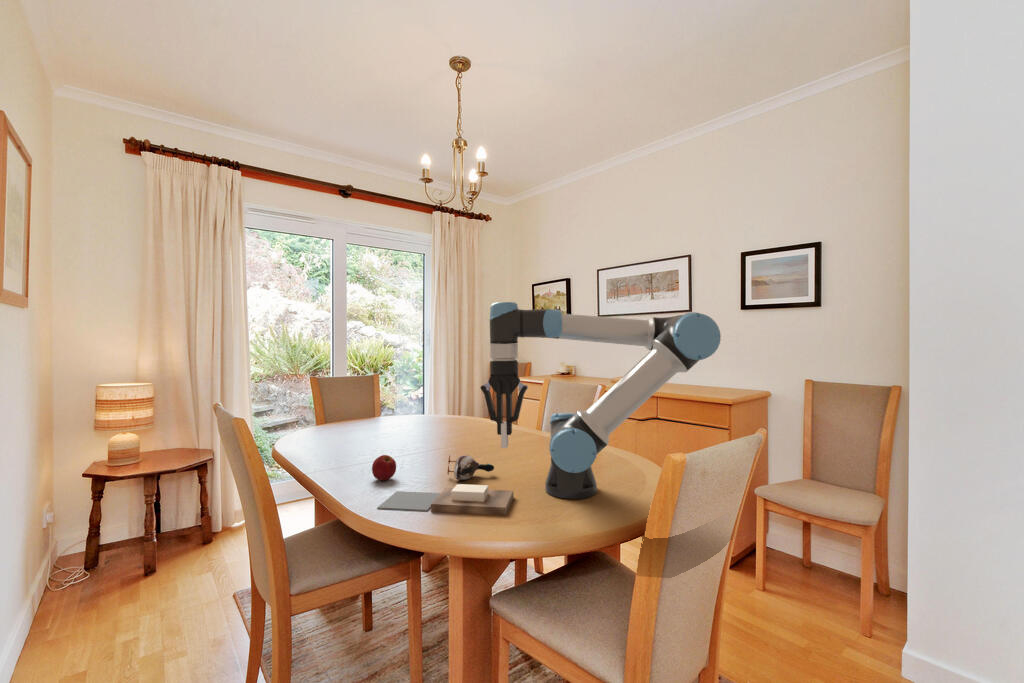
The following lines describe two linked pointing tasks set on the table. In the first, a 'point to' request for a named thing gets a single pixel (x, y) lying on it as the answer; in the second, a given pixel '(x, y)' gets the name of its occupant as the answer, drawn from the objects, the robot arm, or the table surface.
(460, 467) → the decorative duck model
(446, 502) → the brown wooden board
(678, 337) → the robot arm
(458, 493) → the tile
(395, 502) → the mat
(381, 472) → the apple
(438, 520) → the table surface
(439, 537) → the table surface
